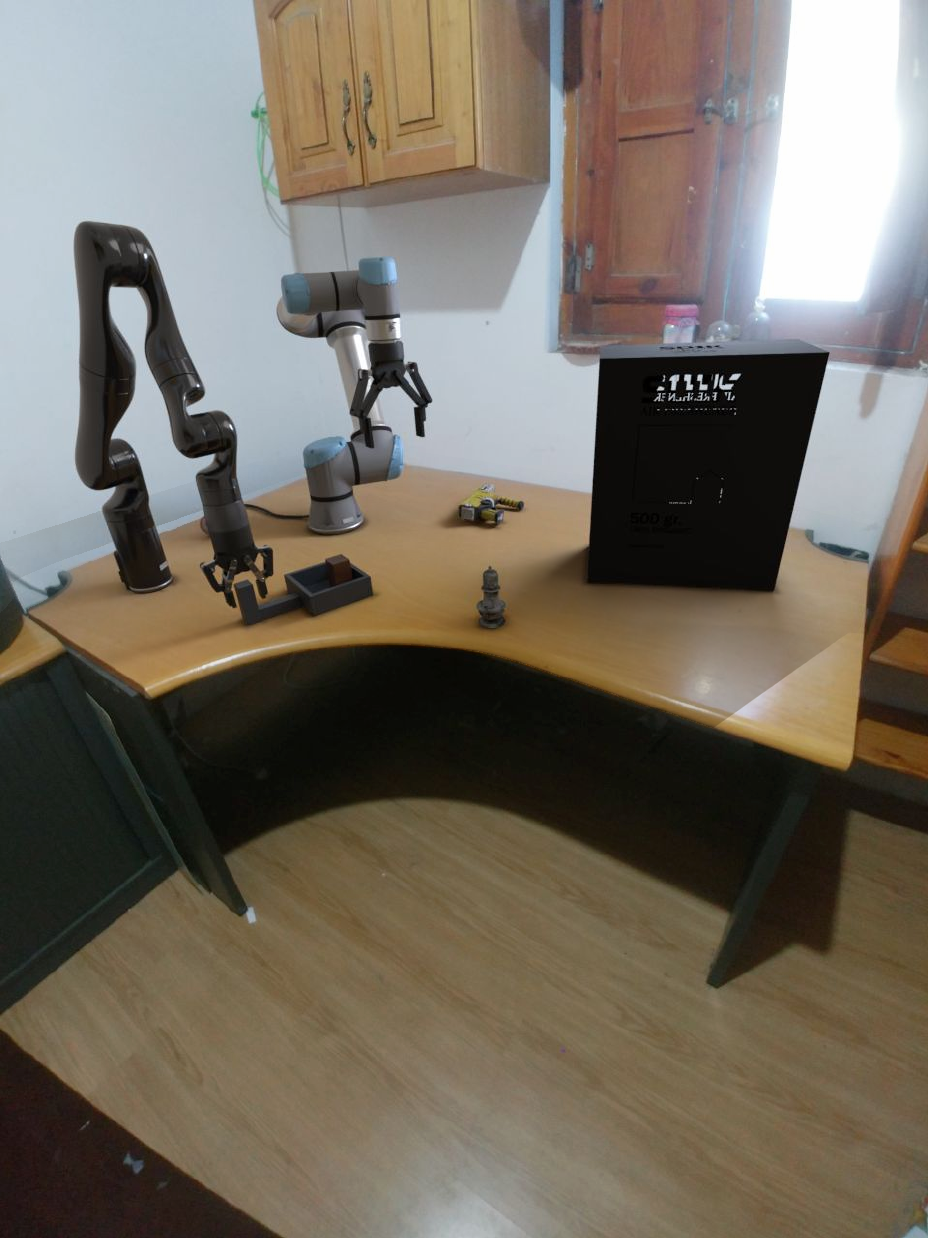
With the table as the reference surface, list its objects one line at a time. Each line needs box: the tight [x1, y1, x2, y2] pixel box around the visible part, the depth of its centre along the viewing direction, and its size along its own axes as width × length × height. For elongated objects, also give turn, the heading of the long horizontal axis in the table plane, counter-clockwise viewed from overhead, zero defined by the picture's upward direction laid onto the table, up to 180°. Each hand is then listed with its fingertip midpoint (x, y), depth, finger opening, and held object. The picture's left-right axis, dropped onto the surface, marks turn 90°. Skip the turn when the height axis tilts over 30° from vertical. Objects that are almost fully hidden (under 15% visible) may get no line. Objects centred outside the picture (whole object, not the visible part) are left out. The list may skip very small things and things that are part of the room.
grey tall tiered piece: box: [475, 565, 507, 629], centre depth 116 cm, size 6×6×12 cm
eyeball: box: [199, 515, 210, 536], centre depth 166 cm, size 6×6×6 cm
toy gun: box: [457, 482, 525, 525], centre depth 171 cm, size 5×24×15 cm
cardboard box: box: [586, 338, 831, 592], centre depth 124 cm, size 38×20×45 cm, turn 78°
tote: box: [232, 561, 374, 627], centre depth 128 cm, size 26×14×8 cm, turn 126°
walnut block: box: [324, 553, 353, 588], centre depth 132 cm, size 4×4×7 cm
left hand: (248, 601), depth 122 cm, fingers open, 5 cm apart
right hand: (395, 441), depth 139 cm, fingers open, 13 cm apart
